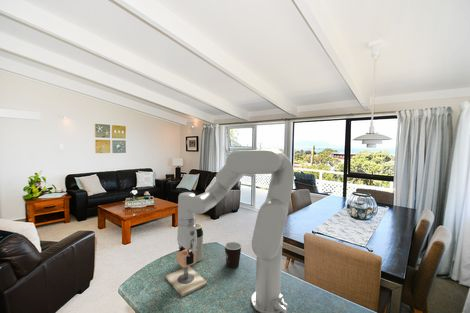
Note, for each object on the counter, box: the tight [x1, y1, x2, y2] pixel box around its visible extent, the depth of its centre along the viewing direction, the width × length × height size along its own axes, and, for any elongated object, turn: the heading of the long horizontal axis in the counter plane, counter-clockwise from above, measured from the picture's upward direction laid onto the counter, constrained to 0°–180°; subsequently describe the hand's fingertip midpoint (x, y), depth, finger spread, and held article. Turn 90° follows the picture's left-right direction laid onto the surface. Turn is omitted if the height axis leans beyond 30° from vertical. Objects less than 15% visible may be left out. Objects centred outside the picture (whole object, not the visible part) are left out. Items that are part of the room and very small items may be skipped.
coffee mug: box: [224, 241, 242, 269], centre depth 110 cm, size 12×9×10 cm
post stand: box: [165, 266, 208, 298], centre depth 94 cm, size 16×12×7 cm
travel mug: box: [189, 222, 204, 263], centre depth 113 cm, size 8×8×18 cm
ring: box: [176, 249, 197, 269], centre depth 94 cm, size 6×6×4 cm
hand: (186, 260), depth 94 cm, fingers closed on ring, 6 cm apart
